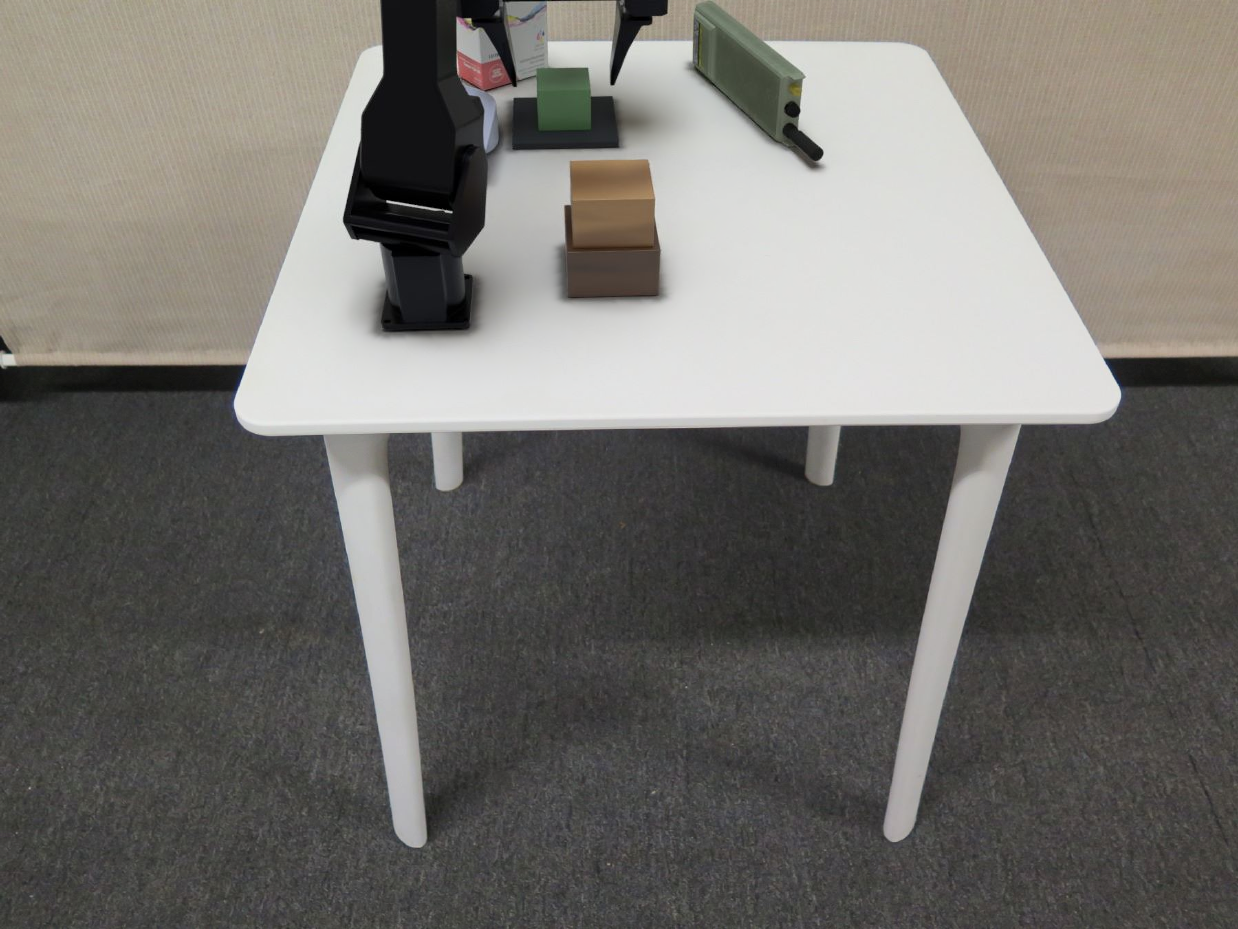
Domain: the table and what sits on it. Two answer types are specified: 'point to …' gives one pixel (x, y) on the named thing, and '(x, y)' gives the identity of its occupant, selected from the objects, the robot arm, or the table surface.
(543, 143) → the mat
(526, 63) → the ink cartridge box
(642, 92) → the table surface
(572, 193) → the oak block
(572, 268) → the walnut block
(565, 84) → the green block
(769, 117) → the handheld radio
